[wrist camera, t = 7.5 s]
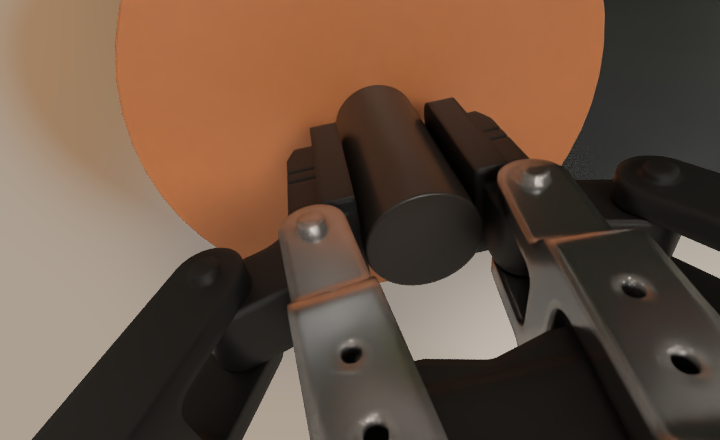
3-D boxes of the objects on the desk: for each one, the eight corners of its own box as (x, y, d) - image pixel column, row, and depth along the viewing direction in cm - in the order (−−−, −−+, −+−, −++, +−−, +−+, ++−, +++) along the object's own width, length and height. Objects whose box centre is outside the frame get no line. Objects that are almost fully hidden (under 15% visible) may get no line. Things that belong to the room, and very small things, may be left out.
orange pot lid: (1, -131, 9) (-409, -169, 4) (635, -257, 9) (1117, -465, 4) (231, 295, 18) (211, 463, 12) (549, 224, 18) (660, 360, 13)
